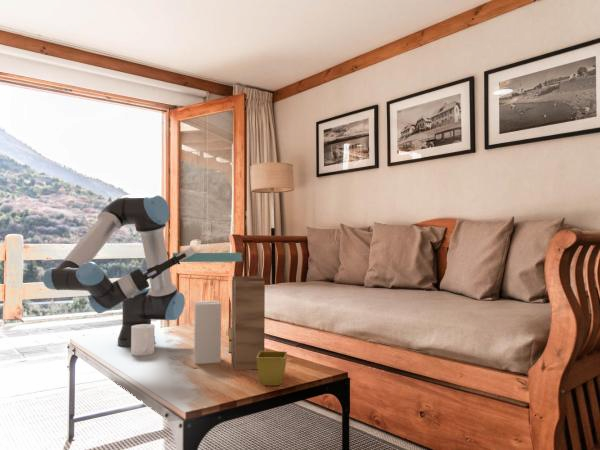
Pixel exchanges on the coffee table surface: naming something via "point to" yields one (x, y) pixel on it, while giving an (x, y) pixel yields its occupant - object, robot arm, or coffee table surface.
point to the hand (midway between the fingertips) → (193, 249)
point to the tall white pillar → (207, 332)
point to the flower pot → (271, 367)
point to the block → (213, 257)
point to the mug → (142, 339)
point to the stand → (247, 321)
